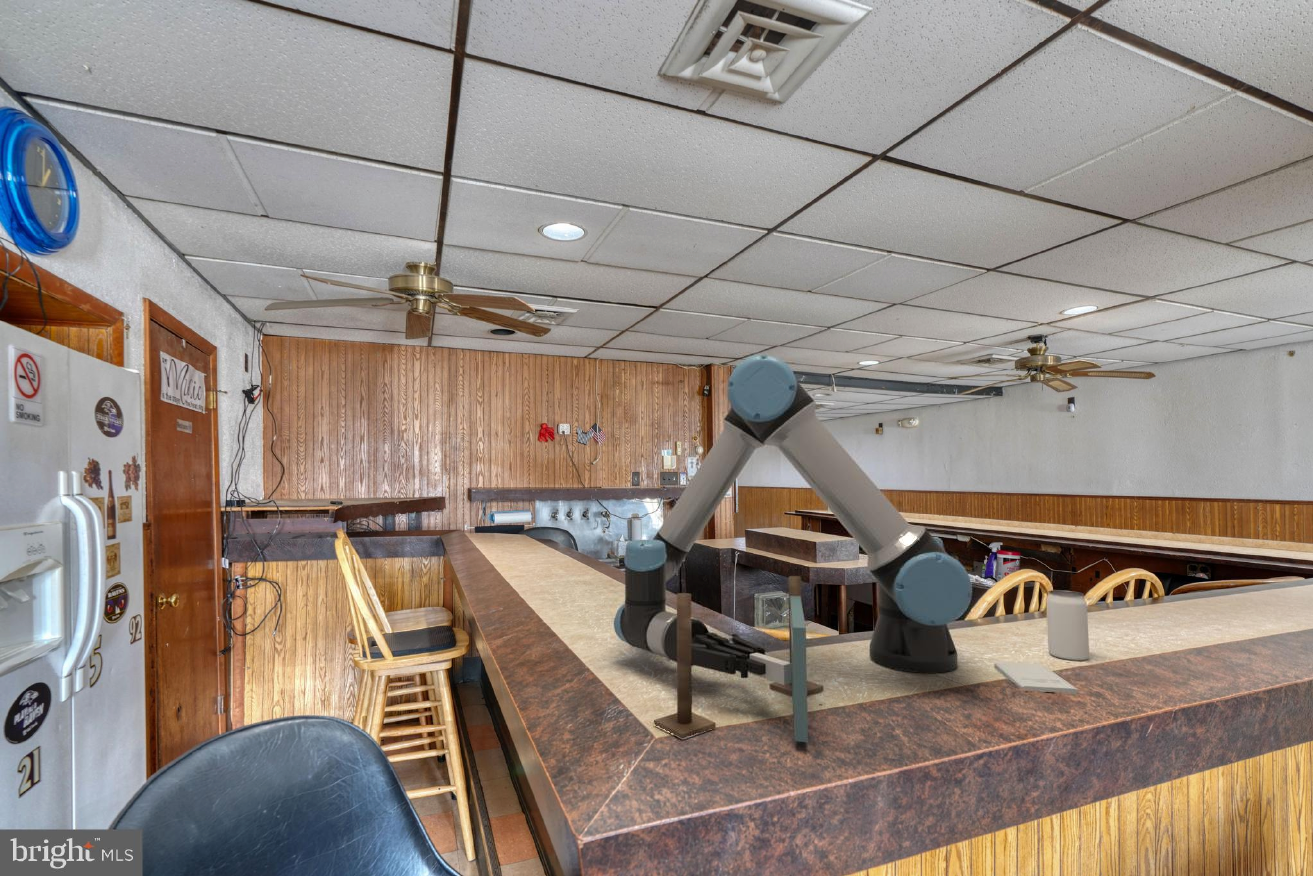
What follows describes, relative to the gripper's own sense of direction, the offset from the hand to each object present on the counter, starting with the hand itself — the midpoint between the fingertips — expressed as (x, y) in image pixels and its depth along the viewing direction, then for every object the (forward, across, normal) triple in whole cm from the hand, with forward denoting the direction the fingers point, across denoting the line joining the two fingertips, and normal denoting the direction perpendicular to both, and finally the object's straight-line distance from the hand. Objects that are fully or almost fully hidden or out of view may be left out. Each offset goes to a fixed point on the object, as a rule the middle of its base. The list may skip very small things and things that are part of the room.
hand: (787, 674), depth 84 cm
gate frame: (-8, 0, -7) cm, 11 cm away
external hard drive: (+13, -47, -8) cm, 49 cm away
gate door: (0, -3, -6) cm, 6 cm away
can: (+12, -67, -7) cm, 69 cm away
